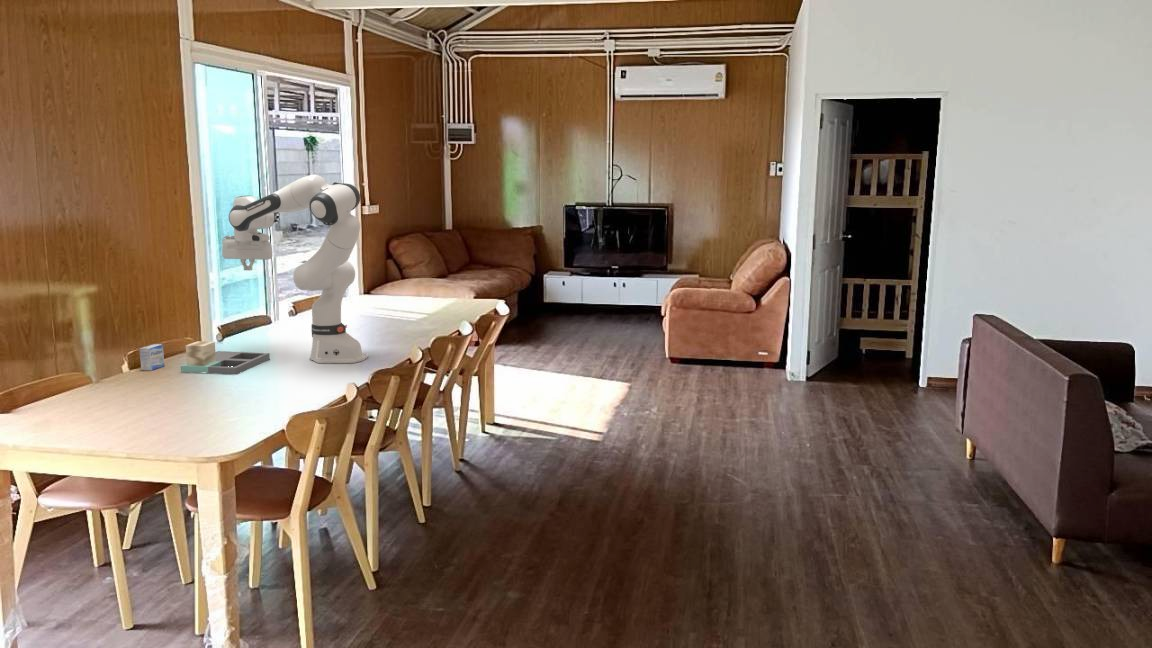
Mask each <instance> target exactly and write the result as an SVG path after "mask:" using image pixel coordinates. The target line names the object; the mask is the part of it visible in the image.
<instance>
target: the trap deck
mask: <svg viewBox="0 0 1152 648" xmlns="http://www.w3.org/2000/svg"><path fill="white" fill-rule="evenodd" d="M215 353H216V361H215V362H213V363H210V364H208V365H205V366H196V365H187V362H186V363H183V364H181V365H180V373H187V372H206V373H205V374H209V373H221V374H220V375H231V374H237V375H238V373H239V374H240V372H241V373H243V372H245V371H248V370H250V369H252V368H254V367H256V366H258V365H260V364H262V363H265V362H267V361H269V360H271V357H270V353H268V352H249V351H247V352H245V351H224V350H222V351H221V350H220V351H219V350H217V351H215ZM228 366H229V367H228ZM231 366H233V367H231ZM247 369H248V370H247Z"/></svg>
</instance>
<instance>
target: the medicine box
mask: <svg viewBox="0 0 1152 648" xmlns="http://www.w3.org/2000/svg"><path fill="white" fill-rule="evenodd" d="M164 356H165V355H164V345H163V344H161V343H160V344H159V343H153V344H150V345H147V346H143V347H140V348H139V359H140V368H141V369H140V370H141V371H151V372H152V371H155V370H158V369H161V368H163V367H165V365H166V364H165V357H164Z"/></svg>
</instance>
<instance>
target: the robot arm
mask: <svg viewBox="0 0 1152 648" xmlns="http://www.w3.org/2000/svg"><path fill="white" fill-rule="evenodd" d="M360 202H361V194H360V191H359V189H357V187H356V186H355V185H353V184H351V183H346V182H345V183H343V182H335V181H334V182H333V183H332V184H329V183H327V181H326V180H325V178H324V177H323V176H321V175H320V174H315V173H314V174H309V175H306V176H303V177H300V178H298V179H297V180H294V181H292V182H290V183H289V184H287V185H285V186H283V187H282V188H279V189H278V190H276V191H274V192H272V193H270V194H267V195H266V196H263V197H261V198H259V199H256V198H255V196H253V195H241V196H240V195H239V196H237V197H235V198H234V199H233V204H232V208H231V209H230V211H229V214H228V221H229V224H230V225H231V227H232V228H233V234H234V235H225V236H224V237H223V238H222V241H221V243H222V244H221V245H222V249H221V250H222V251H221V256H222V258H223V259H226V260H239V262H240V263H241V266H242V268H243V271H253V266H254V264H255V262H256V261H255V260H264V261H265V260H271V259H272V258H273V247H272V243H271V242H270V235H269V234H268V233H267V234H266V233H264V232H261V231H258V230H264V229H270V228H272V227H273V225H274V224H275V221H276V213H293V212H295V213H296V212H300V211H304V210H307V209H309V210H310V213H311V215H313V217H314V218H315V219H317V220H318V221H319V222H321V223H322V224H323V225H326V226H329V229H328V231H327V233H326V236H325V238H324V241H323V242H322V244H321V246H320V247H319V249H318V250H317V251H316V252H315V253H314V254H313V255H312V256H311V257H310V258H309V259H308V260H306V261H305V262H303V263H302V264H300V265H297V266H296V267H295V269H294V271H293V274H292V275H293V277H292V279H293V282H294V285H295V286H296V287H297V288H298V289H299V290H301V291H307V292H308V291H309V292H314V291H322V292H321V295H320V296H319V297H318V298H317V299H316V300H315V301H314V302H313V303H312V305H311V316H312V318H311V319H312V323H311V337H312V344H311V345H312V346H311V353H310V357H309V360H311V361H312V360H313V362H315V363H316V364H355V363H360V362H362V361H364V360H366V359H367V358H369V357H368V354H367V353H364V352H363V349H362V345H361V343H360V342H359V340H357V339H356V338H354V337H353V335H350V334H349V333H348V332H347V331H346V330H347V328H348V324H345V325H344V323H342V302H343V298H344V296H345V293H346V291H347V290H348V289H349V286H351V284H353V283H354V281H355V278H356V270H355V268H354V266H353V265H352V263H351V262H349V258H350V256H351V254H352V252H353V250H354V248H355V245H356V244H357V241H358V238H359V234H360V230H361V222H360V220H359V219H358V218H357V217H356V216H355V215H352V213H351V211H354V209H356V208H357V207H358V206H359V204H360ZM247 260H248V263H249V265H248V264H247Z"/></svg>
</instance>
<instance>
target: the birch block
mask: <svg viewBox="0 0 1152 648" xmlns="http://www.w3.org/2000/svg"><path fill="white" fill-rule="evenodd" d="M215 343H216V342H215V341H202V340H200V341H199V340H198V341H195V342H192V343H189V344H186V345H185V353H186V354H185V355H186V363H187V365H196V366H205V365H208V364H210V363H213V362H215V361H216V353H215V352H216V344H215Z"/></svg>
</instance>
